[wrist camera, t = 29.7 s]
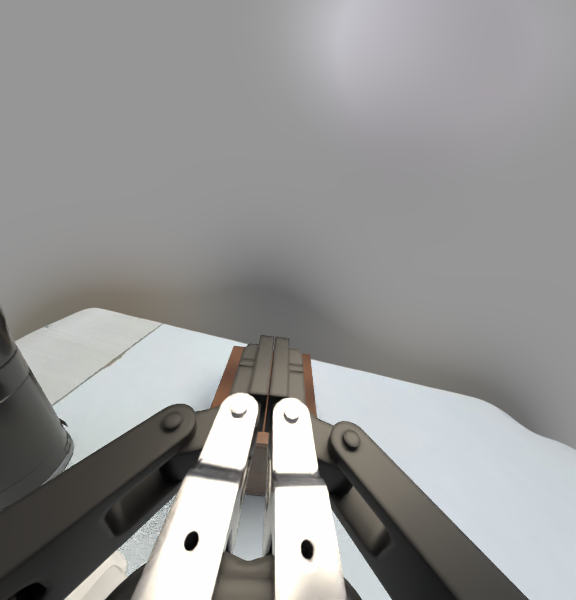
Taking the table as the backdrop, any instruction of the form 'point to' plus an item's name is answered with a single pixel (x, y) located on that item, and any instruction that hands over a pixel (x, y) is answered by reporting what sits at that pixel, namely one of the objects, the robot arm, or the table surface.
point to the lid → (229, 377)
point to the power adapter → (102, 579)
